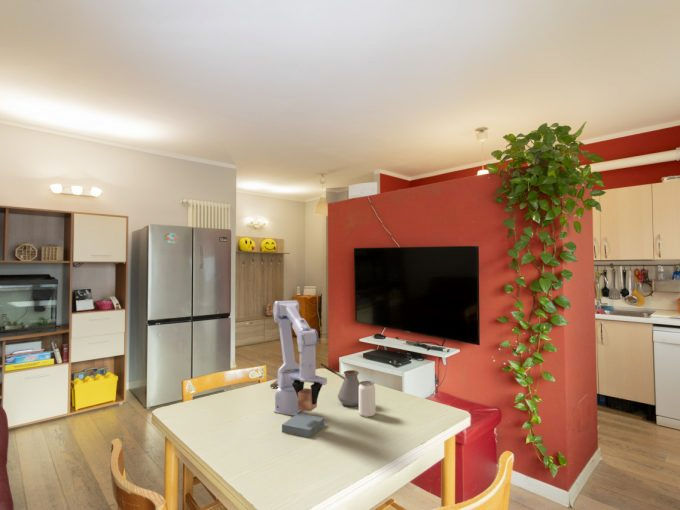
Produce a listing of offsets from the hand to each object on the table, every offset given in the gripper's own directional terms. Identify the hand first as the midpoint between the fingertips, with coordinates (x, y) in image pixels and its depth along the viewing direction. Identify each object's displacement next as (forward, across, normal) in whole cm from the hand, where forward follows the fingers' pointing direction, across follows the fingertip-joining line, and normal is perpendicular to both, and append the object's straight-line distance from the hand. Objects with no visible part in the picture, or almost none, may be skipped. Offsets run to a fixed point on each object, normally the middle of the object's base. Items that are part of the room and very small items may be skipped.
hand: (307, 402), depth 131 cm
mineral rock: (+10, -36, +37) cm, 52 cm away
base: (+9, -1, -1) cm, 9 cm away
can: (+9, +16, +20) cm, 27 cm away
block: (+2, 0, 0) cm, 2 cm away
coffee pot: (+9, 0, +29) cm, 30 cm away
